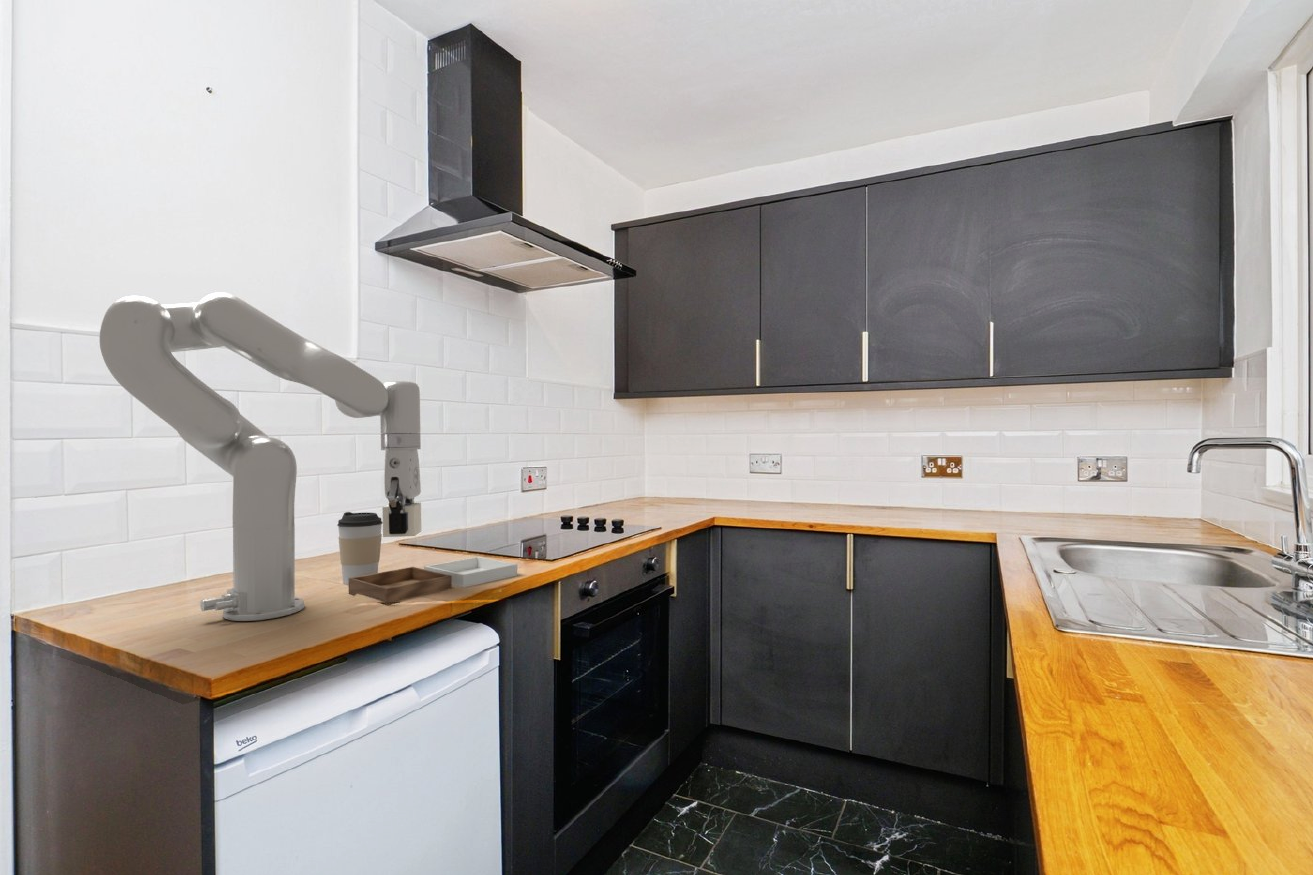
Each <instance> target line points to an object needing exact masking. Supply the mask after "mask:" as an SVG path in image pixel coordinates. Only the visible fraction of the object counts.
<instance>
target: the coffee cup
mask: <svg viewBox="0 0 1313 875" xmlns="http://www.w3.org/2000/svg"><path fill="white" fill-rule="evenodd" d="M336 526H337V527H338V544H339V545H338V546H339V557H340V565H341V572H342V583H343V584H344V585H347V586H349V578H353V577H359V576H364V575H370V574H376V573H379V562H380V558H381V547H382V537H383V533H382V527H383V520H382V518H381V517H379V516H378V514H377V513H376V512H350V511H347V512H344V513H343V515H342V518H341V519H338V522H337V525H336Z"/></svg>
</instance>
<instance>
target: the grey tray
mask: <svg viewBox="0 0 1313 875" xmlns="http://www.w3.org/2000/svg"><path fill="white" fill-rule="evenodd" d="M423 569H425V570H429V571H433V572H438V573H442V574H446V575H451V576H452V586H454V587H455V586H456V587H460V588H463V589H464V588H468V587H472V586H476V585H480V584H485V583H490V582H493V581H498V580H503V579H508V578H512V577H513V578H514V577H517V576H518V563H514V562H508V561H503V560H498V559H493V558H487V557H482V556H472V557H467V558H462V559H456V560H451V561H446V562H441V563H435V564H430V565H424V566H423Z"/></svg>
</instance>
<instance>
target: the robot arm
mask: <svg viewBox="0 0 1313 875" xmlns="http://www.w3.org/2000/svg"><path fill="white" fill-rule="evenodd" d="M101 321H102V322H101V325H100V330H99V348H100V352H101V353H100V354H101V356H102V359H103V361H104V363H105V366H106V368H107V369H108V371H109V373H110V375H112V376H113V378H114V379H115V380H116V382H117V383H118V384H119V385H120V386H121V387H122V388H123V389H124V390H125V391H126V392H127V393H129V394H130V395H131V396H132V397H133V398H135V399H137V401H138V402H140V403H142V404H143V405H144V406H145V407H146V408H147V409H148V410H150V411H151V412H152V413H154V414H155V416H158V417H159V418H160V419H162V420H163V421H164V422H165V423H167V424H168V425H169V426H170V427H172V428H173V429H174V430H175V431H176V432H177V433H178V435H179V436H180V438H182V440H183V441H185V442H186V443H187V444H189V445H190V446H191V447H193V449H195V450H196V451H198V452H199V453H201V454H202V455H203V456H204V457H206V458H207V459H208V460H210V461H211V462H212V463H214V464H215V465H216V466H218V467H219V468H221V469H222V470H223V471H224V472H226V473H228V474H229V475H230V476H231V477H233V485H232V486H233V487H232V489H233V490H232V537H233V538H232V548H233V549H232V563H233V564H232V566H233V567H232V571H233V572H232V575H233V576H232V578H233V579H232V581H233V583H232V584H233V585H232V586H233V587H232V588H230V589H227V590H226V593H225V594H222V595H221V596H220V597H212V598H206V599H201V600H200V603H199V604H200V606H199V607H200V610H201V612H207V611H211V610H214V611H222V618H223V619H225V620H228V621H235V622H253V621H264V620H272V619H276V618H281V617H286V616H289V615H293V614H295V613H298V612H299V611H301V610H303V609H304V608H305V600H304V599H302V598H299V597H296V593H295V592H296V586H295V584H296V578H295V576H296V574H295V573H296V572H295V569H296V567H295V562H296V561H295V559H296V558H295V556H296V554H295V553H296V552H295V550H296V548H295V546H296V545H295V542H296V540H295V538H296V536H295V530H296V529H295V499H296V498H295V496H296V485H297V484H296V483H297V460H296V455H295V453H294V452H293V450H292V449H291V448H290V446H289V445H288V444H287V443H285V442H283V441H282V440H281V439H278V438H275V437H271V436H268V435H267V434H266V433H265V432H264V431H262V430H261V429H259V427H257V426H256V425H255V424H254V423H252V422H250V421H249V420H248V419H247V418H246V417H245V416H243V415H242V414H241V413H240V411H239V409H238V408H237V406H236V405H235V404H234V403H232V402H231V401H230V400H229V399H227V398H225V397H223V396H222V395H220V394H219V393H218V392H217V391H215V390H213V389H212V388H211V387H210V386H208V385H207V384H206V383H205V382H203V381H202V380H201V379H200V378H198V376H196V375H195V374H194V373H192V372H191V371H190V370H189V369H188V368H187V367H185V366H184V365H183V364H182V363H181V362H180V361H178V360H177V359H176V357H175V356H174V355H173V353H177V352H178V353H179V352H187V351H188V352H189V351H198V350H207V349H214V348H221V347H225V348H226V349H228V350H230V351H232V352H234V353H235V354H236V355H237V354H238V355H239V356H241V357H242V358H244V359H247V360H248V361H249V362H251V363H253V364H255V365H257V366H258V367H260V368H262V369H263V370H265V371H266V372H268V373H270V374H272V375H273V376H276V377H278V378H281V379H283V380H286V381H290V382H294V383H297V384H300V385H304V386H306V387H307V388H308V387H309V388H311V389H313V390H315V391H317V392H320V393H321V394H324V395H325V396H327V397H328V398H331V400H334V402H335V405H336V407H337V409H338V410H339V412H341V414H343V415H345V416H346V417H350V418H353V419H362V418H364V419H365V418H372V417H376V416H379V417H380V422H379V423H380V450H381V451H385V453H384V454H385V455H384V479H383V480H384V482H383V484H384V496H385V498H386V499H387V500H388V504H389V533H390V534H405V533H406V532H407V525H406V513H404V512H405V503H415V498H417V497H419V496H420V494H421V492H422V491H421V490H422V489H421V488H422V487H421V474H420V472H421V471H420V469H421V468H420V461H419V460H420V459H419V452H418V451H419V450H422V448H421V447H422V446H421V444H422V443H421V441H422V440H421V439H422V437H421V397H420V396H421V394H420V393H421V391H420V387H419V384H417V383H416V382H412V381H404V380H403V381H399V380H396V381H395V380H394V381H392V380H391V381H385V382H383V383H382V382H381V380H380V379H378V378H377V377H375V376H373V375H372V374H370V373H368V371H365V370H364V369H363V368H361V367H360V366H357V365H356V364H354V363H353V362H351V361H349V360H347V359H346V358H344V357H342V356H340V355H338V354H336V353H334V352H332V351H331V350H328V349H326V348H325V347H323V346H321V345H319V344H317V343H315V342H314V341H312V340H310V339H308V338H305V337H303V336H301V335H300V334H298V333H296V332H295V331H293V330H292V329H290V328H288V327H287V326H285V325H283V324H282V323H280V322H278V321H277V320H275V319H273V318H272V317H270V316H269V315H267V314H266V313H264V312H263V311H261V310H259V309H258V308H256V307H254V306H253V305H251V304H250V303H247V302H246V301H245V300H242V299H241V298H239V297H237V296H235V295H233V294H231V293H227V292H214V293H210V294H207V295H206V296H204V297H202V298H201V299H200V301H198V302H190V303H188V302H187V303H175V304H161V303H159V302H158V301H156V300H155V299H152V298H150V297H146V296H141V295H128V296H124V297H122V298H121V297H120V298H119V299H117V300H115V302H113V303H112V304H111V305H110V306H109V307H108V309H107V310H106V312H105V314H104V316H103V318H102V320H101ZM400 503H401V506H400Z"/></svg>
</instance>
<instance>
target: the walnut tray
mask: <svg viewBox="0 0 1313 875" xmlns="http://www.w3.org/2000/svg"><path fill="white" fill-rule="evenodd" d="M452 588H453V585H452V576H451V575H446V574H442V573H438V572H433V571H429V570H425V569H424V568H419V567H415V566H411V567H404V568H399V569H394V570H393V569H392V570H388V571H382V572H378V573H376V574H370V575H364V576H359V577H353V578H349V585H348V594H349V595H350V596H351V595H352V596H357V595H361V596H364V597H367V598H370V599H374V600H376V601H379V602H377V604H380V605H385V606H390V605H394V604H400V603H401V601H400V600H404V599H409V598H413V597H418V596H422V595H426V594H431V593H435V592H440V591H444V590H450V589H452Z"/></svg>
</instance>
